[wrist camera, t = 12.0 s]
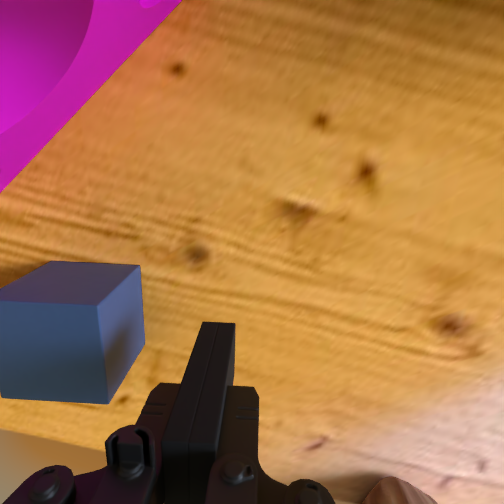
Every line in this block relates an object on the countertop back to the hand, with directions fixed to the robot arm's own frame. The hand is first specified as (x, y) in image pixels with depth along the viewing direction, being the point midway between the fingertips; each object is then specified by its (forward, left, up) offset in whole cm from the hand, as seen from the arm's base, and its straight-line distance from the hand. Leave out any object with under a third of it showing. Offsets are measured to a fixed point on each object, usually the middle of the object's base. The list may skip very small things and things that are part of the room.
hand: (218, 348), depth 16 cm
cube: (0, -7, -4) cm, 8 cm away
